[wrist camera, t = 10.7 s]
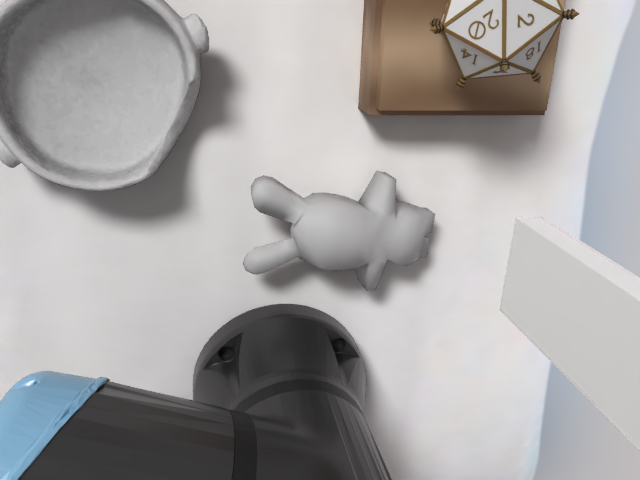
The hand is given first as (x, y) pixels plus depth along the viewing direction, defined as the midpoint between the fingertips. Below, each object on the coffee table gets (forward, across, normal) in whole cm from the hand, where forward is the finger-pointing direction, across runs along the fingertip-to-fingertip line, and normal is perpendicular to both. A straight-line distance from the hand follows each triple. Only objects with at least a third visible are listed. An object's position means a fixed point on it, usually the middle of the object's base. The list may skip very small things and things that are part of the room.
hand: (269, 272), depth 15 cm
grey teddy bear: (+32, -9, +10) cm, 35 cm away
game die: (+28, -17, -6) cm, 33 cm away
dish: (+32, +8, -1) cm, 33 cm away
